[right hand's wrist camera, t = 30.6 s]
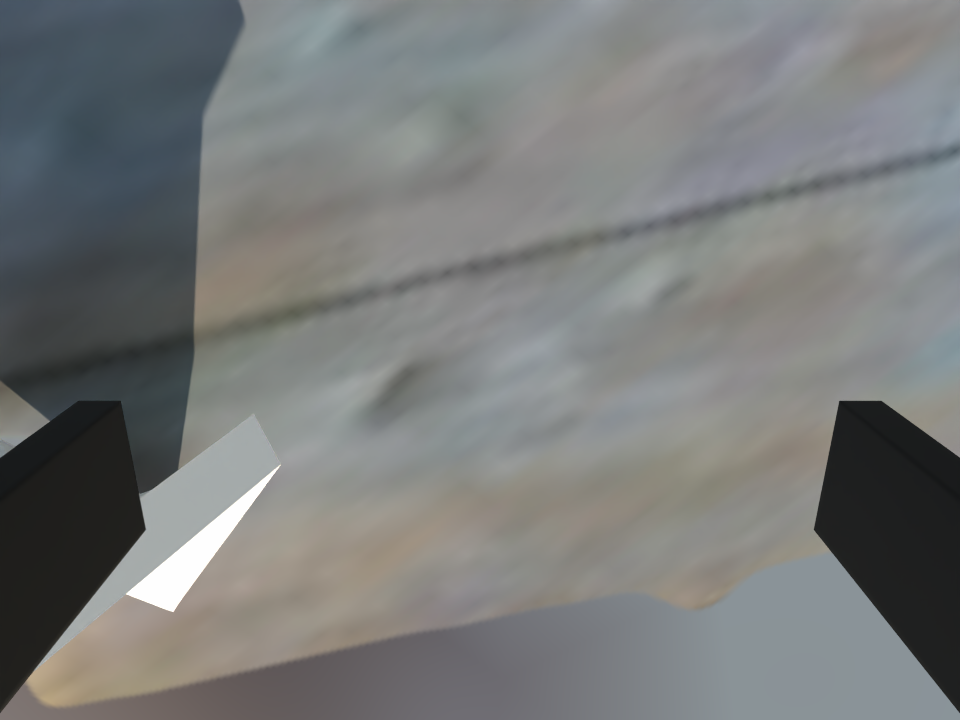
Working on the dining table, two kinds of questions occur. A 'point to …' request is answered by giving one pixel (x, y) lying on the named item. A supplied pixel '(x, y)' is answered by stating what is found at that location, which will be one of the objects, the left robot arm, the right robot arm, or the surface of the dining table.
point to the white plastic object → (184, 523)
